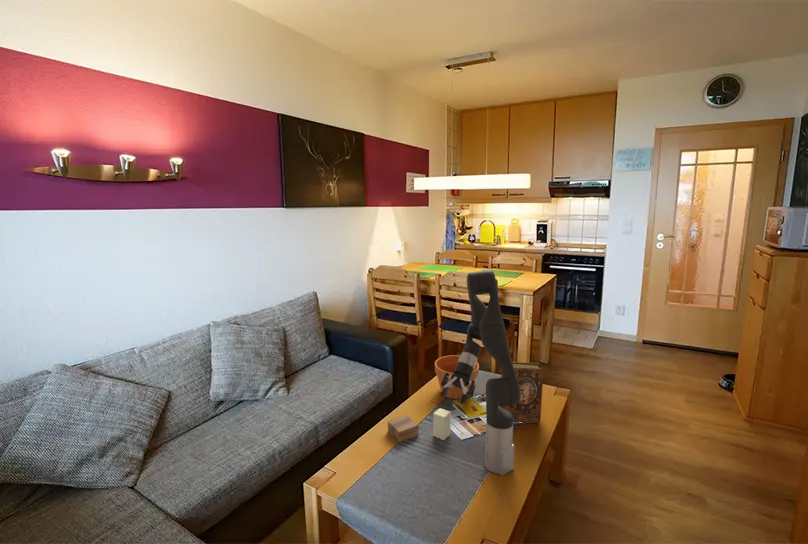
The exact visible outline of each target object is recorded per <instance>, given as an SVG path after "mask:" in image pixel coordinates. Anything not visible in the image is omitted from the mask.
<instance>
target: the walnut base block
mask: <svg viewBox="0 0 808 544" xmlns="http://www.w3.org/2000/svg"><path fill="white" fill-rule="evenodd" d="M387 432H388V433H389V434H390V435H391V436H392V437H393V438H394V439H395V441H396V442H398V443H399V444H400V442H401V443H403V442H406V441H408V439H409V440H411V439H414V438H416V437H419V424H418V423H417V422H415V421H414V420H413V419H412V417H410V416H409V415H408V414H404V415H402V416H399V417H397V418H393V419H390V420H387ZM405 440H406V441H405Z"/></svg>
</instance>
